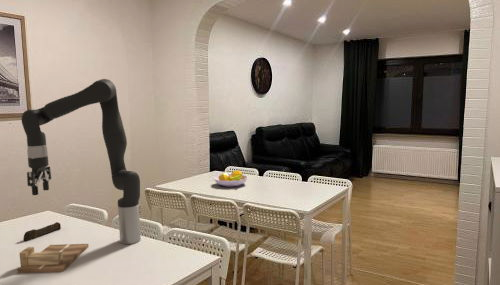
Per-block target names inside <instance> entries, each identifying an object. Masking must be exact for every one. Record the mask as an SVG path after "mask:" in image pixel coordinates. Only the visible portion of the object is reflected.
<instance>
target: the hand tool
mask: <svg viewBox="0 0 500 285" xmlns="http://www.w3.org/2000/svg"><path fill="white" fill-rule="evenodd" d="M61 229H62V228H61V223H60V222H54V223H52V224H50V225H46V226H43V227H42V228H37V229H35V228H34V229H31V230H28V231H25V232H24V234H23V242H29V241H33V240H35V239H37V238H39V237H41V236H43V235H46V234H48V233H52V232H55V231H57V230H59V231H60V230H61Z"/></svg>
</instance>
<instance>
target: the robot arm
mask: <svg viewBox="0 0 500 285" xmlns="http://www.w3.org/2000/svg"><path fill="white" fill-rule="evenodd" d="M116 88H117V87H116V86H115V84H114V82H112V81H111V80H110V79H107V78H102V79H98V80H96V81H94V82H93V83H92V84H90V85H88V86H87V87H85V88H83V89H82V90H80V91H78V92H75V93H73V94H70V95H67V96H64V97H61V98H58V99H56V100H53V101H50V102H48V103H46V104H45V105H44V106H43V107H41V108H37V109H27V110H25V111H24V112H23V113H22V115H21V123H22V127H23V131H24V133H25V136H26V145H27V146H26V147H27V150H26V151H27V161H28V162H27V163H28V164H27V165H28V168H30V169H31V171H27V173H26V178H27V181H26V182H27V186H28V187H31V194H32V196H38V195H39V186H38V185H39V183H40V182H41V181H42V190H43V191H49V190H50V184H49V182H50V180H52V171H51V167H50V166H49V154H48V147H47V140H46V139H47V137H46V134H45V132H44V131H42V130H41V126H43V125H46V124H48V123H49V122H52V121H53V120H55V119H59V118H60V117H64V116H65V115H68V114H70V113H72V112H75V111H77V110H79V109H80V108H81V109H82V108H83V107H87V106H89V105H93V104H99V105H100V108H101V115H102V116H101V117H102V119H101V120H102V121H101V129H102V130H101V131H102V137H103V141H104V144H105V148H106V152H107V156H108V160H109V165H110V174H111V179H112V180H111V181H112V184H113V187H115V189H117V190H118V191H122V192H123V194H122V197H120V198H119V199H117V213H118V228H119V229H118V231H119V242H120V244H122V245H132V244H136V243H138V242H140V241H141V237H142V236H141V222H140V202H139V201H140V198H141V179H140V176H139V174H138V173H137V172H136V171H132V170H127V168H126V162H125V153H126V150H127V145H128V141H127V136H126V132H125V129H124V124H123V120H122V119H123V118H122V116H121V113H120V110H119V102H118V95H117V94H118V93H117V89H116Z"/></svg>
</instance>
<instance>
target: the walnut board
mask: <svg viewBox="0 0 500 285" xmlns="http://www.w3.org/2000/svg"><path fill="white" fill-rule="evenodd" d="M88 248H89V243H72V244H71V243H69V244H67V243H66V244H49V245H48V246H47V247H45V248H44V249H43V250H42V251H40V252H62V254H63V260H62V261H61V262H60V263H59V264H54V265H28V266H21V265H20V266H19V267H18V268H17V274H29V273H32V274H33V273H55V272H56V273H58V272H62V273H63V271H65V270H66V269H67V268H68V267H69V266H70V265H71V264H72V263H73V262H74V261H75V260H76V259H77V258H79V256H81V254H82V255H83V253H84V252H85V251H86V250H87V249H88Z"/></svg>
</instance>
